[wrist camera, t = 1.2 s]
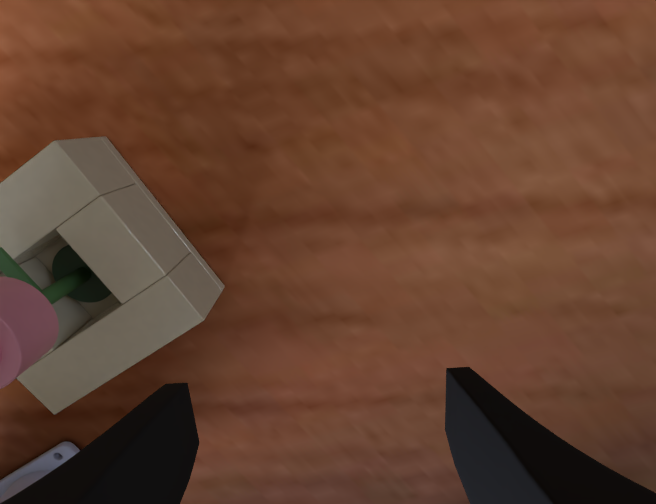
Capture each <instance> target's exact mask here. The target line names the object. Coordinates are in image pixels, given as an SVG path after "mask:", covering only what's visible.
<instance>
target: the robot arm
mask: <svg viewBox="0 0 656 504" xmlns="http://www.w3.org/2000/svg"><path fill="white" fill-rule="evenodd" d="M445 431H446V435H447V438H448V442H449V446H450V450H451V453H452V457H453V460H454V464H455V467H456V469H457V472H458V474H459V477H460V479H461V482H462V484H463V487H464V489H465V492H466V494H467V497H468V499H469V501H470V504H656V493H654V492H652V491H651V490H649V489H647V488H645V487H643V486H641V485H639V484H637V483H635V482H633V481H631V480H630V479H628V478H626V477H624V476H622V475H620V474H618V473H617V472H615V471H613V470H611V469H609V468H608V467H606V466H604V465H602V464H601V463H599V462H597V461H596V460H594V459H593V458H591V457H589V456H588V455H586V454H584V453H583V452H581V451H579V450H578V449H576V448H574V447H573V446H571V445H570V444H568V443H567V442H565V441H564V440H562V439H561V438H559V437H558V436H557V435H555V434H554V433H552V432H551V431H549V430H548V429H547V428H545V427H544V426H542V425H541V424H539V423H538V422H537V421H535V420H534V419H533V418H531V417H530V416H529V415H527V414H526V413H525V412H523V411H522V410H521V409H520V408H518V407H517V406H516V405H514V404H513V403H512V402H511V401H509V400H508V399H507V398H506V397H505V396H503V395H502V394H501V393H500V392H498V391H497V390H496V389H495V388H494V387H492V386H491V385H490V384H489V383H488V382H486V381H485V380H484V379H483V378H482V377H481V376H479V375H478V374H477V373H476V372H475V371H473V370H472V369H471V368H470V367H460V368H447V370H446V413H445ZM198 446H199V438H198V433H197V428H196V423H195V418H194V413H193V408H192V403H191V398H190V393H189V388H188V383H173V384H165V385H164V386H162V387H161V388H159V389H158V390H157V391H156V392H154V393H153V394H152V395H150V396H149V397H148V398H147V399H146V400H144V401H143V402H142V403H141V404H139V405H138V406H137V407H136V408H134V409H133V410H132V411H131V412H130V413H128V414H127V415H126V416H125V417H123V418H122V419H121V420H120V421H118V422H117V423H116V424H115V425H113V426H112V427H111V428H110V429H108V430H107V431H106V432H105V433H103V434H102V435H101V436H99V437H98V438H97V439H95V440H94V441H93V442H91V443H90V444H89V445H87V446H86V447H85V448H83V449H82V450H81V451H80V450H79V449H78V448H77V447H76V446H75V445H74V444H73V443H71V442H62V443H60V444H58V445H57V446H55V447H53V448H52V449H50V450H49V451H47V452H45V453H44V454H42V455H40V456H39V457H37V458H36V459H34V460H32V461H31V462H29V463H27V464H26V465H24V466H22V467H21V468H19V469H18V470H16V471H14V472H13V473H11V474H9V475H8V476H6V477H4V478H3V479H1V480H0V504H180V502H181V500H182V497H183V495H184V492H185V489H186V487H187V484H188V482H189V479H190V476H191V472H192V469H193V465H194V462H195V458H196V454H197V450H198Z"/></svg>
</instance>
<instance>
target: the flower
mask: <svg viewBox="0 0 656 504" xmlns="http://www.w3.org/2000/svg"><path fill="white" fill-rule="evenodd" d="M0 270H1V271H2V272H3V273H4V274H5V275H6V276H7V277H0V389H1V388H3V387H5V386H7V385H8V384H10V383H11V382H12V381H13V380H15V379H16V378H17V377H18V376H19V375H21V374H22V373H23V372H24V371H25V370H27V369H28V368H29V367H30V366H32V365H33V364H34V363H35V362H36V361H38V360H39V359H40V358H41V357H42V356H44V355H45V354H46V353H47V352H48V351H49V350H50V349H51V348H52V347H53V346H54V344H55V342H56V340H57V337H58V332H59V323H58V318H57V315H56V312H55V310H54V308H53V306H52V304H54V303H55V302H57V301H58V300H60V299H61V298H63V297H64V296H66V295H68V296H69V297H71V298H73V299H75V300H78V301H81V302H87V303H92V302H98V301H101V300H103V299H105V298H107V297H108V296H109V295H110V294H112V292H111V291H110V290H109V289H108V288H107V287H106V286H105V285H104V283H103V282H102V281H101V280H100V279H99V278H98V277H97V276H96V274H95V273H94V272H93V271H92V270H91V269H90V268H89V267H88V265H87V264H86V263H85V262H84V261H83V260H82V259H81V258H80V256H79V255H78V254H77V253H76V252H75V251H74V250H73V249H72V247H71V246H70V245H67V246H65V247H63V248H62V249H60V250H59V251H58V252H57V254H56V255H55V257H54V260H53V263H52V273H53V277H54V280H55V283H53V284H51V285H50V286H48V287H46V288H45V289H43V290H42V289H41V288H40V287H39V286H38V285H37V284H36V283H35V282H34V281H33V280H32V279H31V278H30V277H29V276H28V275H27V273H26V272H25V271H24V270H23V269H22V268H21V267H20V266H19V265H18V264H17V263H16V262H15V261H14V260H13V259H12V258H11V256H10V255H9V254H8V253H7V252H6V251H5V250H4V249H3V248H2V247H0Z"/></svg>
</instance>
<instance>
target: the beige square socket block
mask: <svg viewBox="0 0 656 504" xmlns="http://www.w3.org/2000/svg"><path fill="white" fill-rule="evenodd" d="M67 245H70V246H71V247H72V249H73V250H74V251H75V252H76V253H77V254H78V255H79V256H80V258H81V259H82V260H83V261H84V262H85V263H86V264H87V265H88V267H89V268H90V269H91V270H92V271H93V272H94V273H95V274H96V276H97V277H98V278H99V279H100V280H101V281H102V282H103V283H104V285H105V286H106V287H107V288H108V289H109V290H110V291H111V292H112V294H110V295H109V296H108V297H107V298H105V299H103V300H101V301H98V302H92V303H87V302H81V301H78V300H75V299H73V298H71V297H69V296H68V295H66V296H64V297H63V298H61V299H60V300H58V301H57V302H55V303H54V304H52V306H53V308H54V310H55V312H56V315H57V318H58V323H59V332H58V337H57V340H56V342H55V344H54V346H53V347H52V348H51V349H50V350H49V351H48V352H47V353H46V354H45V355H44V356H42V357H41V358H40V359H39V360H38V361H36V362H35V363H34V364H33V365H32V366H30V367H29V368H28V369H27V370H25V371H24V372H23V373H22V374H21V375H19V376H18V377H17V378H16V379H17V380H19V381H20V382H21V383H22V384H23V385H24V386H25V387H26V388H27V389H28V390H29V391H30V392H31V393H32V394H33V395H34V396H35V397H36V398H37V399H38V400H39V401H40V402H41V403H42V404H43V405H44V406H45V407H46V408H47V409H49V410H50V411H51V412H52V413H53V414H54V415H55V414H57V413H58V412H60V411H61V410H63V409H65V408H66V407H68V406H69V405H71V404H73V403H74V402H76V401H77V400H79V399H80V398H82V397H84V396H85V395H87V394H88V393H90V392H92V391H93V390H95V389H96V388H98V387H100V386H101V385H103V384H104V383H106V382H107V381H109V380H111V379H112V378H114V377H115V376H117V375H119V374H120V373H122V372H123V371H125V370H126V369H128V368H130V367H131V366H133V365H134V364H136V363H138V362H139V361H141V360H142V359H144V358H146V357H147V356H149V355H150V354H152V353H153V352H155V351H157V350H158V349H160V348H161V347H163V346H165V345H166V344H168V343H169V342H171V341H172V340H174V339H176V338H177V337H179V336H180V335H182V334H184V333H185V332H187V331H188V330H190V329H192V328H193V327H195V326H196V325H198V324H199V323H201V322H203V321H204V320H205V318H206V317H207V315H208V313H209V312H210V310H211V308H212V307H213V305H214V304H215V302H216V300H217V299H218V297H219V296H220V294H221V292H222V291H223V289H224V287H225V286H224V284H223V283H222V282H221V281H220V279H219V278H218V277H217V276H216V274H215V273H214V272H213V271H212V269H211V268H210V267H209V266H208V264H207V263H206V262H205V261H204V259H203V258H202V257H201V255H200V254H199V253H198V252H197V250H196V249H195V248H194V247H193V245H192V244H191V243H190V242H189V240H188V239H187V238H186V237H185V235H184V234H183V233H182V232H181V230H180V229H179V228H178V226H177V225H176V224H175V223H174V221H173V220H172V219H171V218H170V216H169V215H168V214H167V213H166V211H165V210H164V209H163V208H162V206H161V205H160V204H159V203H158V201H157V200H156V199H155V197H154V196H153V195H152V194H151V192H150V191H149V190H148V189H147V187H146V186H145V185H144V184H143V182H142V181H141V180H140V179H139V177H138V176H137V175H136V174H135V172H134V171H133V170H132V168H131V167H130V166H129V165H128V163H127V162H126V161H125V160H124V158H123V157H122V156H121V155H120V153H119V152H118V151H117V150H116V148H115V147H114V146H113V145H112V143H111V142H110V141H109V139H108V138H107V137H106V136H103V137H90V138H78V139H66V140H55V141H53V142H52V143H50V144H49V145H48V146H46V147H45V148H44V149H43V150H41V151H40V152H39V153H38V154H36V155H35V156H34V157H33V158H31V159H30V160H29V161H28V162H26V163H25V164H24V165H22V166H21V167H20V168H19V169H17V170H16V171H15V172H14V173H12V174H11V175H10V176H9V177H7V178H6V179H5V180H4V181H2V182H1V183H0V247H2V248H3V249H4V250H5V251H6V252H7V253H8V254H9V255H10V256H11V258H12V259H13V260H14V261H15V262H16V263H17V264H18V265H19V266H20V267H21V268H22V269H23V270H24V271H25V272H26V273H27V275H28V276H29V277H30V278H31V279H32V280H33V281H34V282H35V283H36V284H37V285H38V286H39V287H40V288H41V289H42V290H43V289H45V288H46V287H48V286H50V285H51V284H53V283H55V280H54V277H53V273H52V263H53V260H54V257H55V255H56V254H57V252H58V251H59V250H60V249H62V248H63V247H65V246H67ZM0 277H7V276H6V275H5V274H4V273H3V272H2V271H1V270H0Z"/></svg>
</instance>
